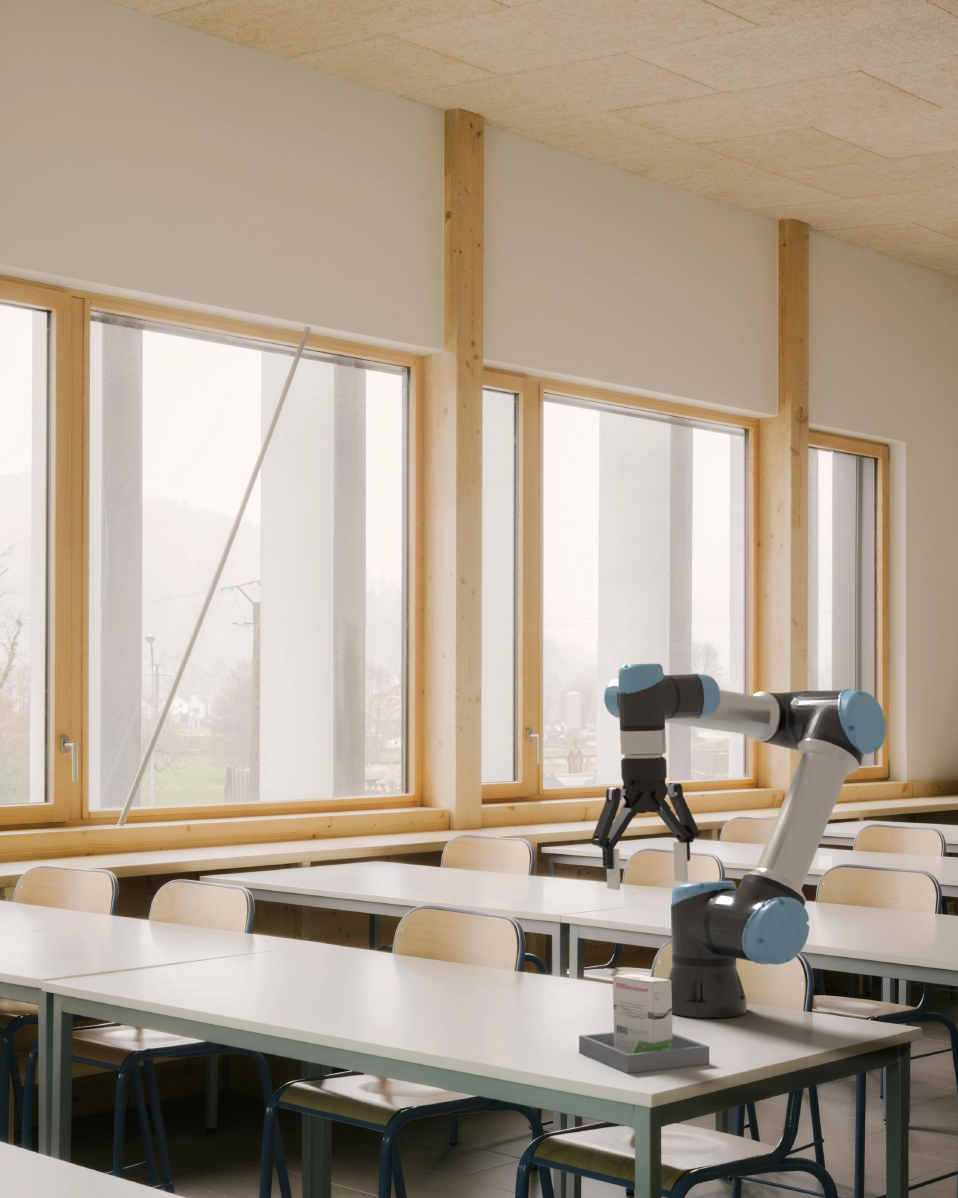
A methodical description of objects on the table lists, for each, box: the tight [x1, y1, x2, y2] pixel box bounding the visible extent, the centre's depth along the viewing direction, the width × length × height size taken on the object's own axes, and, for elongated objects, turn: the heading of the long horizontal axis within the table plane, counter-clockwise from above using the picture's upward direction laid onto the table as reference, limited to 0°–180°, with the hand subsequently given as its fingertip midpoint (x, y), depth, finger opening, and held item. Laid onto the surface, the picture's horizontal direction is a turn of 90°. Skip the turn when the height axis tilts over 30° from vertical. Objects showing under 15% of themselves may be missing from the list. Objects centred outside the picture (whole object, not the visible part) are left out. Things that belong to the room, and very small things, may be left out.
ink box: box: [612, 973, 673, 1054], centre depth 220 cm, size 9×5×12 cm, turn 42°
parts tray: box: [578, 1031, 710, 1074], centre depth 219 cm, size 15×15×3 cm
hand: (648, 885), depth 233 cm, fingers open, 13 cm apart
